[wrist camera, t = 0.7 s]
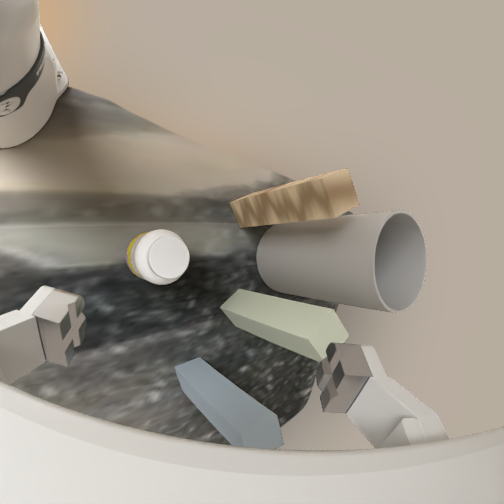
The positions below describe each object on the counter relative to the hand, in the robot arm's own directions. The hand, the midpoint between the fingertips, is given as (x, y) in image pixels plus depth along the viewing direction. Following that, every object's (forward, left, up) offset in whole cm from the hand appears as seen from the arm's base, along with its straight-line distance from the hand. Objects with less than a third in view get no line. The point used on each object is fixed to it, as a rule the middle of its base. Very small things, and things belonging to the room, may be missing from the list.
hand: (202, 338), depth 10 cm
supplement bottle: (+1, +6, -38) cm, 39 cm away
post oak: (+1, +24, -38) cm, 45 cm away
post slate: (+21, +4, -38) cm, 44 cm away
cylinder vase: (+11, +28, -38) cm, 49 cm away
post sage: (+15, +16, -38) cm, 44 cm away
